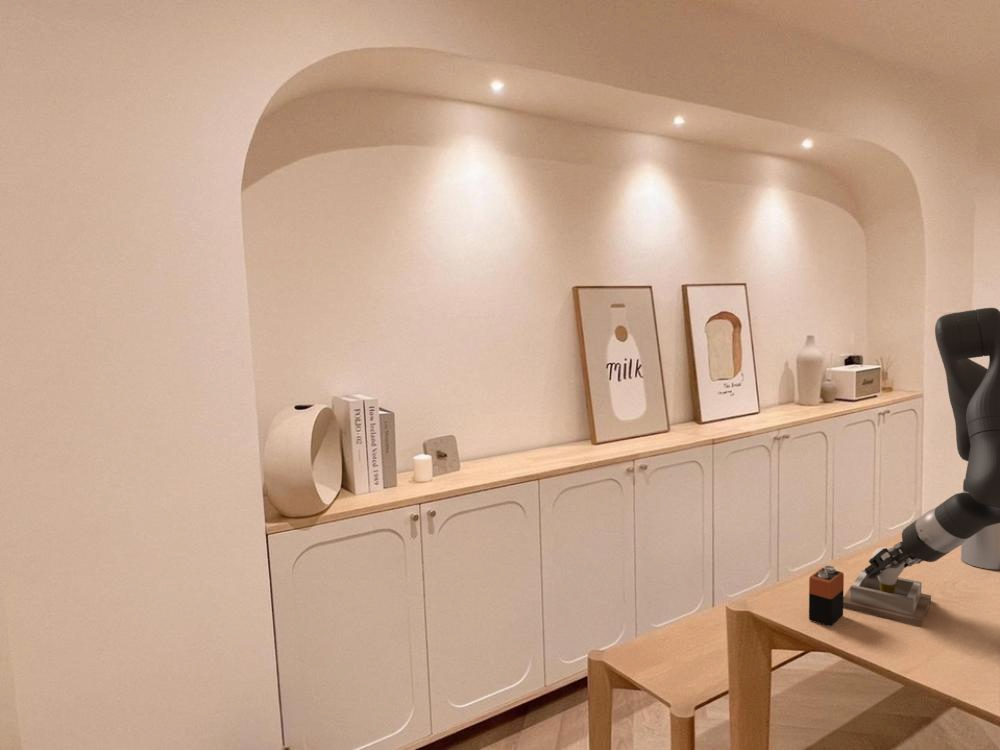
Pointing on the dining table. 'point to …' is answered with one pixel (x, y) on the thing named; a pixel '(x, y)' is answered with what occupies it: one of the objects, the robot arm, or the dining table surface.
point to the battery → (826, 595)
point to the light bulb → (888, 575)
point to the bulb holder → (888, 599)
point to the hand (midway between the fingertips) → (879, 571)
